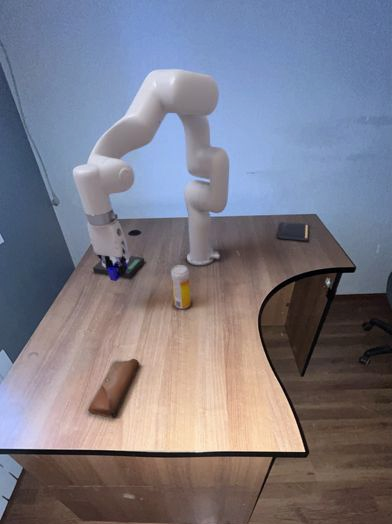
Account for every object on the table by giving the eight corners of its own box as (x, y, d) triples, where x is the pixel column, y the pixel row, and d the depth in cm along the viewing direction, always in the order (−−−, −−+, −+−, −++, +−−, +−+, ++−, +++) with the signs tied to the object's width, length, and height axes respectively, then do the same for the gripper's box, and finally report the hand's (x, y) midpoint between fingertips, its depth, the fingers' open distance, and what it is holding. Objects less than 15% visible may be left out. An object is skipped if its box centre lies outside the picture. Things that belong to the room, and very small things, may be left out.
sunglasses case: (113, 360, 81) (119, 349, 76) (134, 370, 83) (141, 360, 78) (85, 412, 69) (90, 403, 64) (111, 422, 71) (117, 414, 66)
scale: (144, 262, 122) (143, 256, 120) (130, 278, 113) (128, 272, 111) (110, 257, 127) (108, 251, 124) (94, 272, 118) (92, 266, 115)
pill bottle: (192, 301, 101) (191, 265, 90) (187, 311, 97) (184, 275, 86) (178, 298, 102) (174, 263, 92) (172, 308, 99) (167, 272, 88)
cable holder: (118, 267, 92) (115, 256, 89) (127, 268, 91) (125, 257, 88) (106, 279, 87) (103, 268, 84) (116, 281, 86) (112, 270, 83)
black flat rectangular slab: (281, 219, 146) (310, 222, 142) (280, 223, 147) (309, 226, 143) (277, 235, 133) (308, 238, 129) (276, 238, 134) (307, 242, 131)
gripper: (132, 214, 76) (144, 270, 90) (83, 209, 80) (102, 265, 94) (120, 225, 71) (134, 283, 85) (68, 219, 75) (90, 276, 89)
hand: (117, 273), depth 89 cm, fingers closed on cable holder, 3 cm apart
